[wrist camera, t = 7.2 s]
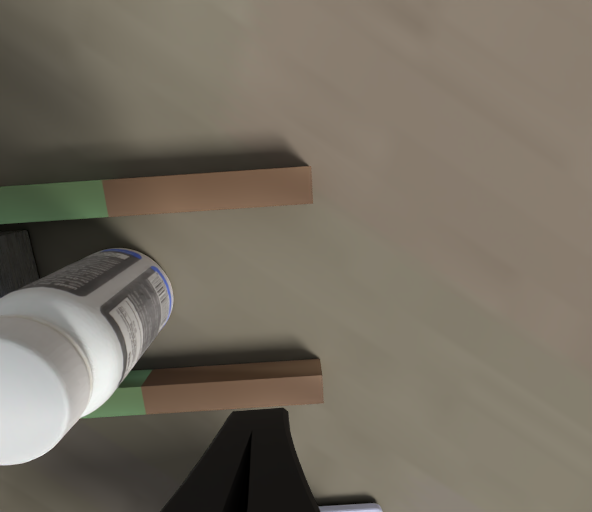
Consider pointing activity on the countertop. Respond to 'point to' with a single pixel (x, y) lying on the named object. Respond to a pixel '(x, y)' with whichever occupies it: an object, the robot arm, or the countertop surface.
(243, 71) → the countertop surface
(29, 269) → the small grey block
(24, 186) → the gauge rails
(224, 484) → the robot arm
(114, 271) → the pill bottle
